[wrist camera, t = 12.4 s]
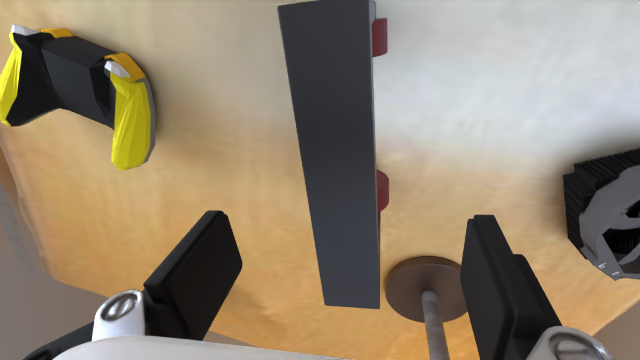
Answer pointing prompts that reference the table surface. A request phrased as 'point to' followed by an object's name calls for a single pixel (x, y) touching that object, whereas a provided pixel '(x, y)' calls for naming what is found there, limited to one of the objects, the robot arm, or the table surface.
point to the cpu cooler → (606, 213)
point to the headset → (339, 139)
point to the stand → (428, 297)
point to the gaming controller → (79, 88)
